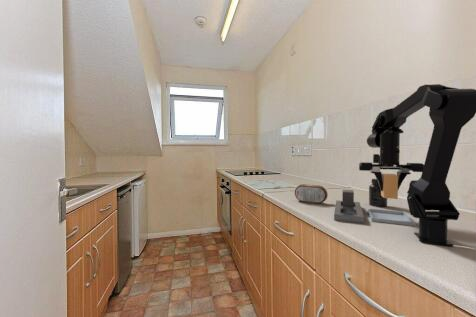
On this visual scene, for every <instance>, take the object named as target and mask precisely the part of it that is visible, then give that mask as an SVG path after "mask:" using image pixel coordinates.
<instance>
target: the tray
mask: <svg viewBox="0 0 476 317" xmlns="http://www.w3.org/2000/svg"><path fill="white" fill-rule="evenodd" d="M367 212H368V213H367V214H368V216H369V218H370V220H371V222H373V223H374V222H375V223H384V224H385V223H386V224H393V225H402V226H411V227H417V223H416V221H415V220H414V219H413V218H412V217H411V215H409V214H408V213H407V212H406V211H402V210H401V211H399V210H391V209H390V210H389V209H378V208H377V209H376V208H368V207H367Z"/></svg>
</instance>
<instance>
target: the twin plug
mask: <svg viewBox="0 0 476 317" xmlns="http://www.w3.org/2000/svg"><path fill="white" fill-rule="evenodd" d="M342 201H343V203H342V206H352V207H354V202H355V193H354V190H353V189H342Z"/></svg>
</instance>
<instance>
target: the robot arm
mask: <svg viewBox="0 0 476 317" xmlns="http://www.w3.org/2000/svg"><path fill="white" fill-rule="evenodd" d="M425 107H427V108H429V112H428V116H429V118H430V119H431V122H432V124H433V130H432V132H431V138H430V141H429V145H428V149H427V152H426V157H425V161H424V163H421V162H406V163H405V164H400V153H401V151H400V142H401V141H400V140H401V137H400V136H401V135H400V134H403V133H404V130H403V129H402V128H401V127H403V125H404V124H406V122H407V119H408V118H409V117H410V116H412V115H413V114H415V113H417V112H418V111H420V110H421V109H422V108H425ZM475 115H476V89H475V88H456V87H450V86H446V85H443V84H439V83H438V84H423V85H420V86H418V88H417V89H416V91H414V92H413V93H411V95H409V96H408V97H407V98H405V99H404V100H402V101H401V102H400V103H399V104H397V105H396V106H394V107H392V108H388V109H384V110H382V111H381V112H379V113H378V115H377V116H376V118H375V121H374V122H373V124H372V126H371V134H369V135H368V136H367V139H366V144H367V145H368V146H369V147H370V148H372V149H376V148H377V149H379V154H378V153H374V154H373V155H372V161H371V162H369V161H368V162H367V161H366V162H361V161H360V162H359V163H358V170H359V171H361V172H362V171H364V172H366V171H367V172H368V171H370V174H374V176H375V179H377V181H378V183H379V186H380V189H381V191H383V183H382V174H383V173H382V171H381V170H393V171H394V170H397V171H396V175H398V191H399V189H400V187H401V185H402V183H403V182H404V180H405V178H406V177H407V176H408V175H411V174H412V173H411V172H414V173H421V175H420V178H418V179H417V180H414V179H413V180H410V182H409V184H408V185H409V186H408V190H407V192H406V194H407V197H406V201H407V205H408V210H409V213H410V216H412V217H413V218H416V219H418V232H414V235H415V236H416V237H417V238H418V240H419V242H421V243H425V244H433V245H440V246H445V247H446V246H448V247H454V243H452V242H451V241H450V240H449V239H448V221H450V220H451V221H458V219H459V217H460V212H459V210H458V209H457V208H456V206H455V205H454V203H453V202H452V201H451V200H450V199H451V191H450V190H449V187H448V185H447V182H446V181H447V178H448V174H449V171H450V168H451V164H452V161H453V157H454V154H455V152H456V148H457V145H458V142H459V137H460V134H461V131H462V128H464V126H466V125H467V123H469V122H470V121H471V120H472V119H473V118H474V117H475ZM410 171H411V172H410Z"/></svg>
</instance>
